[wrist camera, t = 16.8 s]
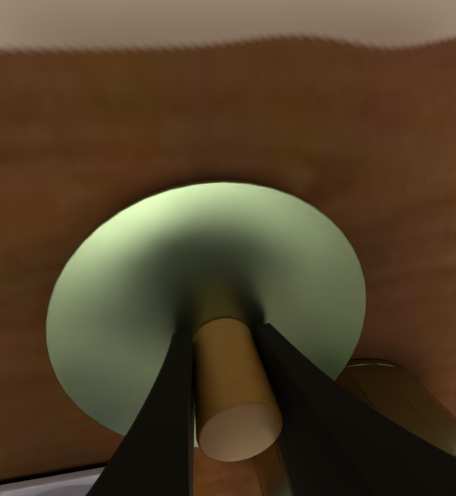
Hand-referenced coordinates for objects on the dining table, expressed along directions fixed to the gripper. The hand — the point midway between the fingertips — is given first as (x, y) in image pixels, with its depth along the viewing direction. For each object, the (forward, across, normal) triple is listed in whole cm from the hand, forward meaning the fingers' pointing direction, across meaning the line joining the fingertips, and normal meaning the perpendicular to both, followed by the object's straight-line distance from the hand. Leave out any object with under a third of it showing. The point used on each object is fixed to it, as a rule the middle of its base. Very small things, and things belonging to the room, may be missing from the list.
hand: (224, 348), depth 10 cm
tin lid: (+1, 0, 0) cm, 1 cm away
